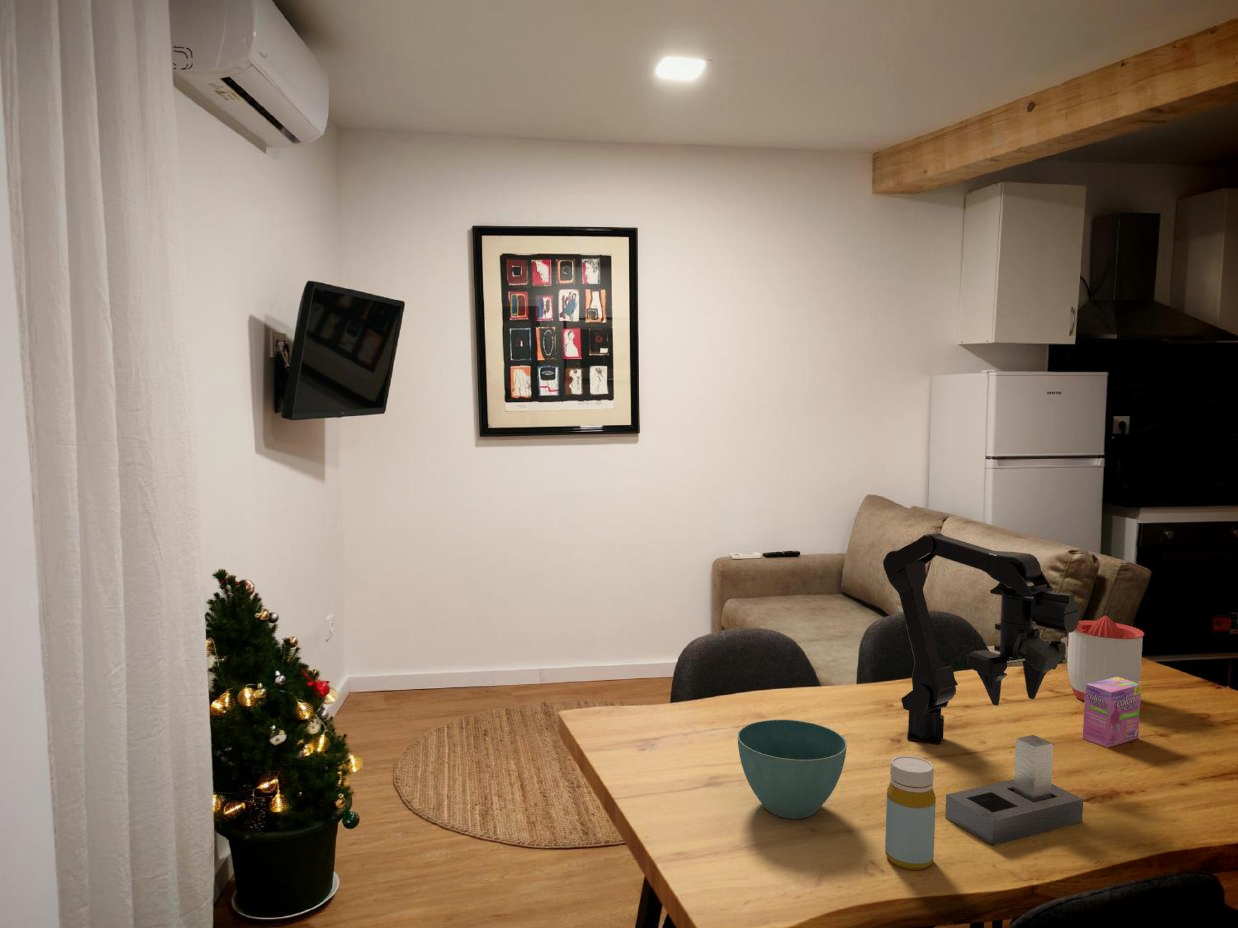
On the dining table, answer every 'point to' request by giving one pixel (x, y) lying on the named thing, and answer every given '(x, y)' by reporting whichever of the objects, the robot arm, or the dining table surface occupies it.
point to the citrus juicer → (1102, 653)
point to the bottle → (910, 813)
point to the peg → (1033, 768)
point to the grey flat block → (1011, 812)
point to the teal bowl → (791, 764)
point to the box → (1111, 711)
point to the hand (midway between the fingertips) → (1013, 701)
